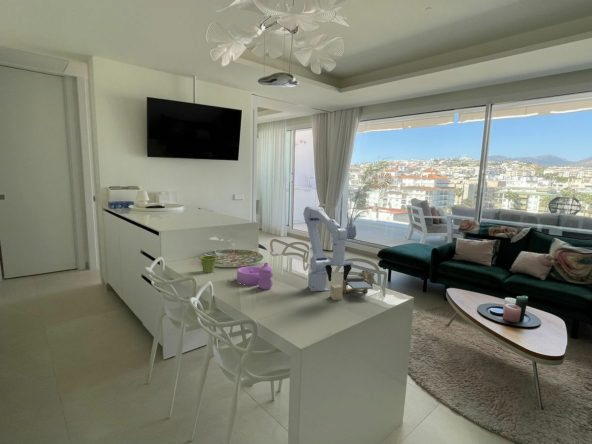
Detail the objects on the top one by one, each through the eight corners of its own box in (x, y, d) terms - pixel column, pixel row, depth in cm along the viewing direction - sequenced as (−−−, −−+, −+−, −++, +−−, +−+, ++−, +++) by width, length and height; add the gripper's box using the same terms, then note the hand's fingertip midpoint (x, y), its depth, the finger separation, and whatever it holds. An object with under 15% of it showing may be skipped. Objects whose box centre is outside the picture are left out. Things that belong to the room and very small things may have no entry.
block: (333, 299, 155) (333, 287, 155) (330, 296, 160) (330, 284, 159) (341, 299, 156) (342, 287, 155) (338, 296, 161) (339, 284, 160)
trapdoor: (353, 292, 156) (353, 284, 156) (342, 282, 170) (343, 276, 170) (372, 291, 158) (372, 284, 158) (360, 282, 172) (361, 275, 172)
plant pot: (199, 270, 195) (199, 256, 194) (214, 269, 199) (215, 255, 198) (201, 274, 187) (201, 259, 185) (217, 273, 191) (218, 258, 189)
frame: (343, 293, 165) (344, 280, 164) (340, 290, 170) (341, 277, 169) (367, 292, 167) (368, 280, 167) (363, 289, 172) (364, 277, 172)
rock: (362, 287, 172) (365, 269, 174) (353, 285, 177) (356, 267, 179) (377, 291, 178) (380, 273, 180) (368, 289, 184) (371, 272, 185)
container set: (231, 279, 179) (232, 256, 178) (255, 275, 189) (255, 253, 187) (256, 292, 160) (257, 267, 159) (281, 287, 170) (282, 263, 169)
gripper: (326, 254, 150) (325, 283, 151) (356, 254, 153) (354, 282, 154) (322, 251, 157) (321, 278, 158) (350, 251, 160) (349, 278, 161)
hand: (337, 280), depth 157 cm, fingers open, 7 cm apart
